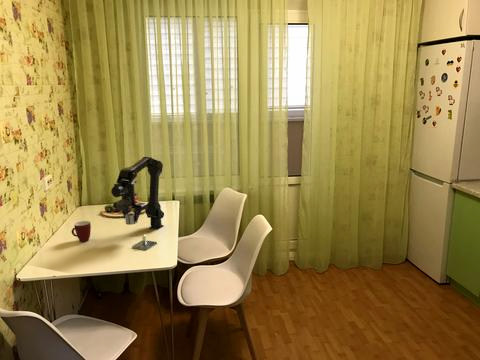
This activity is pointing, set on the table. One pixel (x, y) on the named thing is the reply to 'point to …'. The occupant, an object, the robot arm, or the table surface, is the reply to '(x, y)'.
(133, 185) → the robot arm
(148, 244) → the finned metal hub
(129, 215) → the hub ring
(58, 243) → the table surface
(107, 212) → the wooden plate with food
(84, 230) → the mug
